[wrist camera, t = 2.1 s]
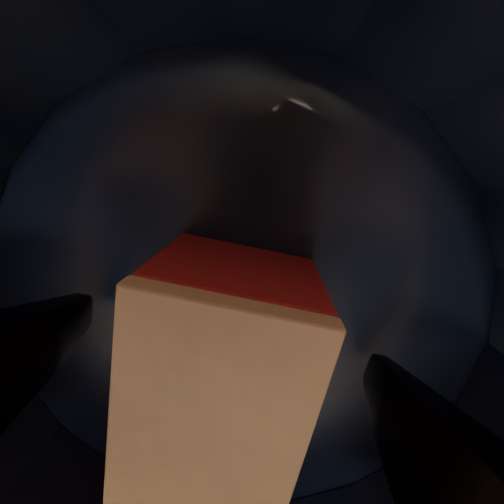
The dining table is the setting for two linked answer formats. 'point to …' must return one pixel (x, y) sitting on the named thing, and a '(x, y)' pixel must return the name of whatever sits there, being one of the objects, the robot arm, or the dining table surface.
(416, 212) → the pot
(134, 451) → the meat
